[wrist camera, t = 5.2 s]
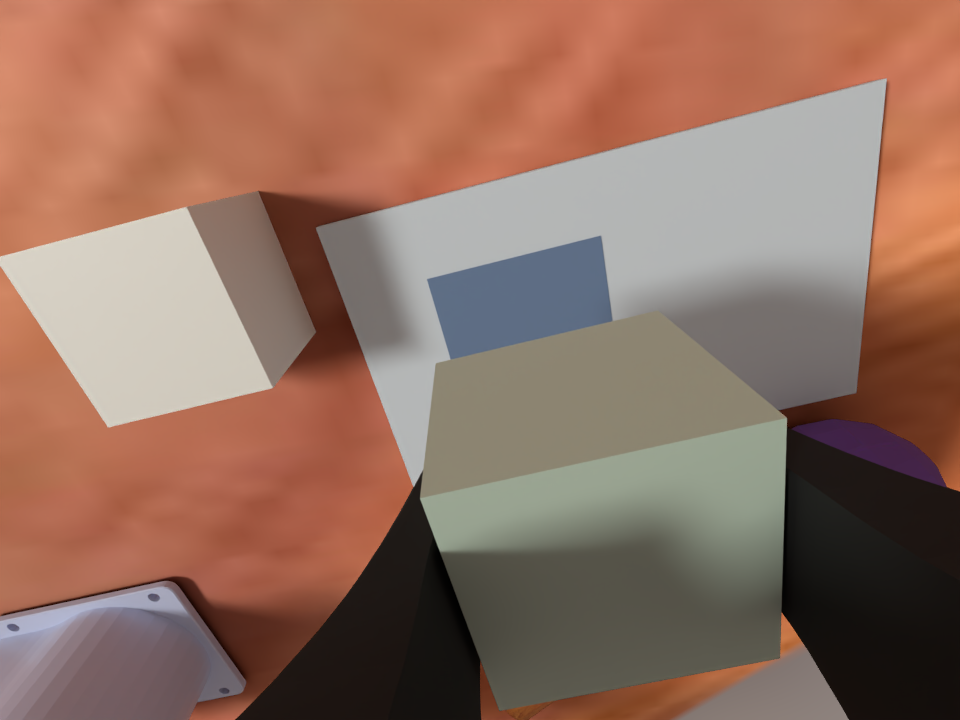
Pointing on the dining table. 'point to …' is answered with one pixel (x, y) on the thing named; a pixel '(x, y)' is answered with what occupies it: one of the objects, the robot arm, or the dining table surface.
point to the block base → (607, 509)
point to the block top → (168, 307)
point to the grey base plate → (634, 255)
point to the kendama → (852, 440)
